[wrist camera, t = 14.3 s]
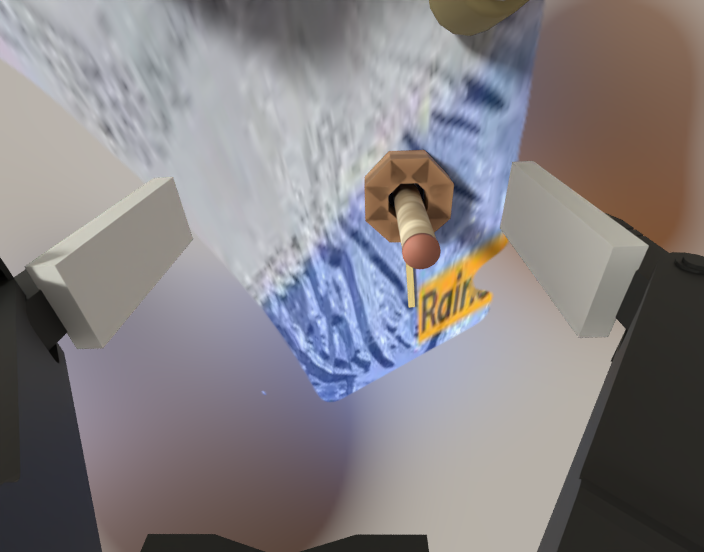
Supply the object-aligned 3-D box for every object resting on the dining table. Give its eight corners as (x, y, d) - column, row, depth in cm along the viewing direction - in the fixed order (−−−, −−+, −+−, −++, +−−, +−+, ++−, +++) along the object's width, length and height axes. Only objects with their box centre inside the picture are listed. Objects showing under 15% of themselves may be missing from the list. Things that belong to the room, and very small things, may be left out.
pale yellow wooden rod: (414, 305, 55) (415, 307, 54) (408, 305, 55) (408, 307, 54) (411, 238, 49) (411, 240, 49) (404, 239, 49) (404, 240, 49)
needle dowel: (392, 206, 47) (402, 269, 33) (392, 180, 45) (403, 236, 31) (418, 205, 47) (438, 268, 33) (419, 180, 45) (442, 235, 31)
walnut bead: (366, 229, 49) (366, 242, 45) (364, 152, 43) (363, 160, 40) (442, 227, 48) (448, 241, 45) (449, 148, 43) (456, 157, 39)
